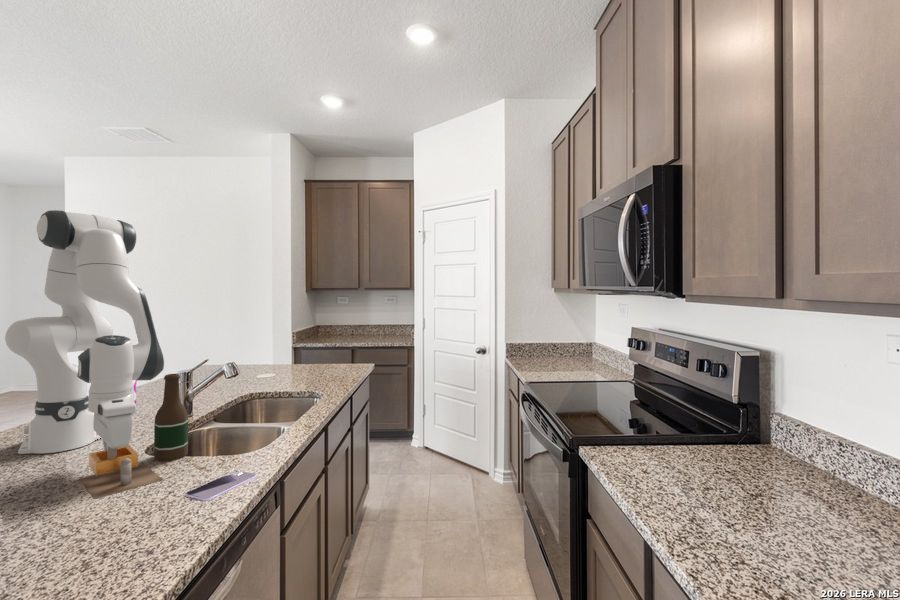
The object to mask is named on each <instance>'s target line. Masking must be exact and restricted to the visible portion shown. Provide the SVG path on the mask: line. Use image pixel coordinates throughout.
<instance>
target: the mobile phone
mask: <svg viewBox="0 0 900 600" xmlns="http://www.w3.org/2000/svg"><path fill="white" fill-rule="evenodd" d="M256 478H258V475H257V474H256V473H253V472H248V471H243V470H235V473H230V474H227V475H224V476H221V477H218V478H216V479H215V480H211V481H210V482H207V483H205V484H202V485H201V486H199V487H196V488H194V489H191V490H189V491H187V492H186V493H185V495H184V497H186V498H189V499H193V500H197V501H202V502H208V501H212V500H213V499H216V498H217V497H220V496H222V495H224V494H226V493H228V492H229V491H232V490H234V489H236V488H238V487H240V486H242V485H244V484H246V483H248V482H250V481H252V480H253V479H254V480H255V479H256Z"/></svg>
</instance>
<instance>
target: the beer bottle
mask: <svg viewBox="0 0 900 600" xmlns="http://www.w3.org/2000/svg"><path fill="white" fill-rule="evenodd" d="M180 379H181V376H180V374H178V373H169V374H165V375H164V377H163V380H164V389H163V390H164V391H163V399H162V405H160V407H159V408H158V410H157V412H156V414H155V416H154V422H153V423H154V424H153V425H154V428H153V429H154V430H153V431H154V432H153V433H154V437H153V440H154V441H153V445H154V446H153V459H154V460H155V461H158V462H172V461H174V460H175V461H176V460H179V459H183V458H184V457H185V456H187V455H188V454H189V453H188V452H189V413H188V411H187V409H186V407H185V406H184V405H183V403H182V401H181V392H180Z"/></svg>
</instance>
